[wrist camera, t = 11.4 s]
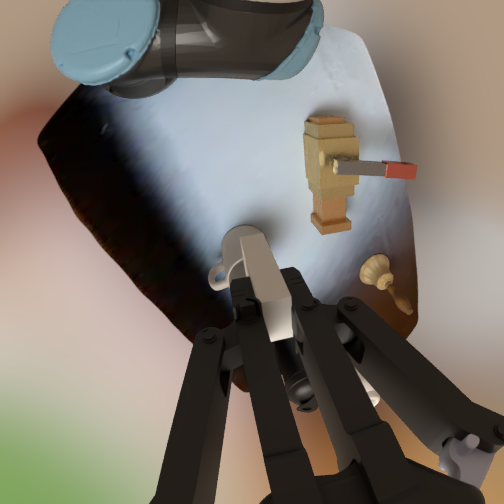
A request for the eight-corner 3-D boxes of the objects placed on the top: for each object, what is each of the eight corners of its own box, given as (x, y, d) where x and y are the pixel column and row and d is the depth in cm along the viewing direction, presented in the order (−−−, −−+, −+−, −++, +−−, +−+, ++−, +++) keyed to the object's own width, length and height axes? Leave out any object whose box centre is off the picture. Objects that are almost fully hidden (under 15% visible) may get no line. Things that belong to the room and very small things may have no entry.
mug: (254, 216, 53) (266, 245, 44) (272, 251, 58) (287, 284, 48) (196, 246, 55) (197, 280, 45) (218, 279, 59) (223, 315, 49)
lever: (327, 169, 44) (337, 176, 41) (328, 155, 43) (338, 160, 39) (402, 173, 46) (415, 179, 43) (404, 160, 45) (417, 165, 42)
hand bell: (392, 269, 66) (429, 309, 52) (366, 289, 68) (398, 333, 54) (382, 247, 62) (422, 287, 48) (354, 268, 64) (389, 313, 50)
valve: (301, 117, 46) (316, 120, 40) (338, 115, 46) (357, 119, 40) (308, 222, 56) (321, 238, 50) (340, 216, 56) (356, 232, 50)
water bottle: (257, 328, 68) (279, 412, 48) (285, 299, 64) (319, 382, 45) (288, 342, 72) (315, 418, 52) (315, 315, 69) (352, 391, 49)
